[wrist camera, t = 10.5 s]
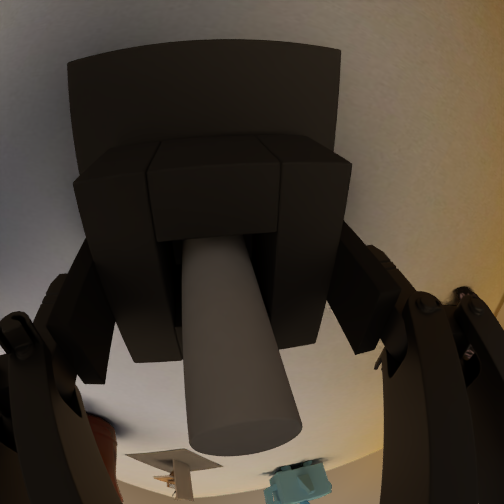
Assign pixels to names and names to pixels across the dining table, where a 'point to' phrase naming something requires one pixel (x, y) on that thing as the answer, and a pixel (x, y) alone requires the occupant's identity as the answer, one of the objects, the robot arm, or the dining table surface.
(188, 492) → the architectural model
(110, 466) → the mug
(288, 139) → the dark block with hole
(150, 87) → the base pad
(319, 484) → the teapot
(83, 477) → the robot arm
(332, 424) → the dining table surface
